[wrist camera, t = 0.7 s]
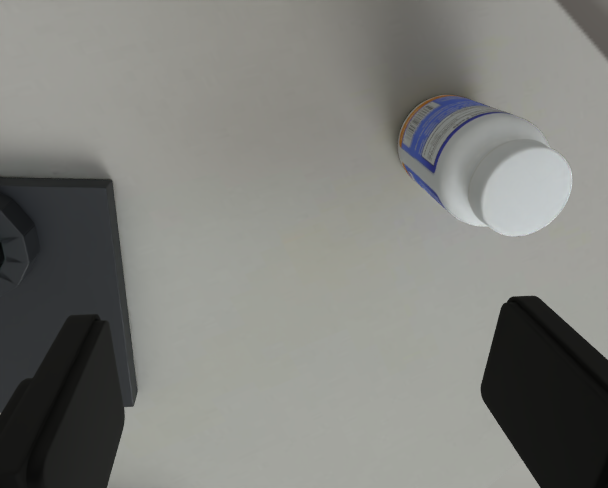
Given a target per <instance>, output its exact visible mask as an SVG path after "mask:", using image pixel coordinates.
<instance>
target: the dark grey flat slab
mask: <svg viewBox="0 0 608 488" xmlns="http://www.w3.org/2000/svg"><path fill="white" fill-rule="evenodd" d="M85 314H98V315H99V317H100V319H101V320H107V321H108V322H109V325H110V330H111V336H112V342H113V348H114V353H115V359H116V365H117V371H118V377H119V383H120V389H121V394H122V400H123V406H124V407H133V406H134V403H135V399H136V396H137V385H136V376H135V368H134V360H133V351H132V343H131V334H130V326H129V318H128V309H127V301H126V292H125V284H124V275H123V267H122V259H121V250H120V242H119V233H118V225H117V217H116V208H115V200H114V191H113V183H112V180H96V179H52V178H7V177H0V413H2V411H3V410H4V408H5V406H6V405H7V403H8V401H9V400H10V398H11V396H12V395H13V393H14V391H15V390H16V388H17V386H18V385H19V384H20V383H21V381H23V380H24V379H26V378H33V377H34V375H35V373H36V372H37V370H38V368H39V366H40V365H41V363H42V361H43V359H44V358H45V356H46V354H47V352H48V351H49V349H50V347H51V345H52V344H53V342H54V340H55V338H56V337H57V335H58V333H59V331H60V330H61V328H62V326H63V324H64V323H65V321H66V319H67V318H68V317H69V316H70V315H85Z"/></svg>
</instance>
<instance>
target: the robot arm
mask: <svg viewBox="0 0 608 488" xmlns="http://www.w3.org/2000/svg"><path fill="white" fill-rule="evenodd" d="M481 395H482V398H483V401H484V402H485V404H486V405H487V407H488V408H489V410H490V412H491V413H492V415H493V416H494V418H495V419H496V421H497V422H498V424H499V425H500V427H501V428H502V430H503V431H504V433H505V434H506V436H507V437H508V439H509V440H510V442H511V443H512V445H513V446H514V448H515V449H516V451H517V453H518V454H519V456H520V457H521V459H522V460H523V461H524V463H525V464H526V466H527V468H528V469H529V471H530V472H531V474H532V475H533V477H534V478H535V480H536V481H537V483H538V484H539V486H540V487H541V488H608V360H607V359H606V358H605V357H604V356H603V355H602V354H601V353H599V352H598V351H597V350H596V349H595V348H594V347H593V346H592V345H591V344H589V343H588V342H587V341H586V340H585V339H584V338H583V337H582V336H581V335H579V334H578V333H577V332H576V331H575V330H574V329H573V328H572V327H571V326H569V325H568V324H567V323H566V322H565V321H564V320H563V319H562V318H561V317H559V316H558V315H557V314H556V313H555V312H554V311H553V310H552V309H551V308H549V307H548V306H547V305H546V304H545V303H544V302H543V301H542V300H541V299H540V298H538V297H536V296H517V297H511V298H510V299H509V300H508V301H507V303H504V304H503V305H502V307H501V310H500V314H499V318H498V322H497V326H496V330H495V334H494V337H493V341H492V345H491V349H490V353H489V357H488V360H487V364H486V368H485V372H484V376H483V380H482V384H481ZM124 418H125V414H124V406H123V400H122V394H121V389H120V383H119V377H118V371H117V365H116V359H115V353H114V348H113V342H112V336H111V330H110V325H109V322H108V321H107V320H101V319H100V317H99V315H98V314H85V315H70V316H69V317H68V318H67V319H66V321H65V323H64V324H63V326H62V328H61V330H60V331H59V333H58V335H57V337H56V338H55V340H54V342H53V344H52V345H51V347H50V349H49V351H48V352H47V354H46V356H45V358H44V359H43V361H42V363H41V365H40V366H39V368H38V370H37V372H36V373H35V375H34V377H33V378H26V379H24V380H23V381H21V383H20V384H19V385H18V386H17V388H16V390H15V391H14V393H13V395H12V396H11V398H10V400H9V401H8V403H7V405H6V406H5V408H4V410H3V411H2V413H1V415H0V488H107V485H108V481H109V478H110V474H111V470H112V467H113V463H114V460H115V456H116V452H117V449H118V445H119V442H120V438H121V434H122V431H123V427H124Z"/></svg>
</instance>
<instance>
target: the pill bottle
mask: <svg viewBox="0 0 608 488" xmlns="http://www.w3.org/2000/svg"><path fill="white" fill-rule="evenodd" d="M398 154H399V158H400V161H401V164H402V166H403V168H404V169H405V170H406V172H407V173H408V174H409V176H410V177H411V178H412V179H414V180H415V181H416V182H417V183H418V184H419V185H420V186H421V187H422V188H423V189H425V190H426V191H427V192H428V193H429V194H430V195H431V196H432V197H433V198H434V199H435V200H436V201H437V202H438V203H439V204H441V205H442V206H443V207H444V208H445V209H446V210H447V211H448V212H449V213H450V214H452V215H453V216H454V217H455V218H457V219H458V220H460V221H462V222H464V223H467V224H470V225H475V226H488V227H489V228H491V229H492V230H494V231H495V232H497V233H499V234H502V235H506V236H524V235H528V234H531V233H534V232H536V231H538V230H540V229H542V228H543V227H545V226H546V225H548V224H549V223H550V222H551V221H553V220H554V219H555V218H556V216H558V214H559V213H560V212H561V211H562V209H563V208H564V206H565V204H566V203H567V200H568V198H569V195H570V192H571V188H572V173H571V169H570V166H569V164H568V162H567V161H566V159H565V158H564V157H563V156H562V155H561V154H560V153H559V152H557V151H556V150H554V149H552V148H550V147H549V144H548V142H547V140H546V138H545V136H544V135H543V133H542V132H541V131H540V130H539V129H538V128H537V127H536V126H535V125H534V124H532V123H531V122H529V121H527V120H526V119H523V118H521V117H518V116H515V115H513V114H510V113H507V112H504V111H501V110H498V109H495V108H492V107H490V106H487V105H484V104H481V103H478V102H475V101H472V100H470V99H467V98H464V97H461V96H456V95H440V96H435V97H432V98H430V99H427V100H425V101H424V102H422V103H420V104H419V105H418V106H417V107H415V108H414V109H413V110H412V111H411V113H410V114H409V115H408V116H407V118H406V120H405V121H404V123H403V125H402V128H401V130H400V134H399V139H398Z"/></svg>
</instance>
